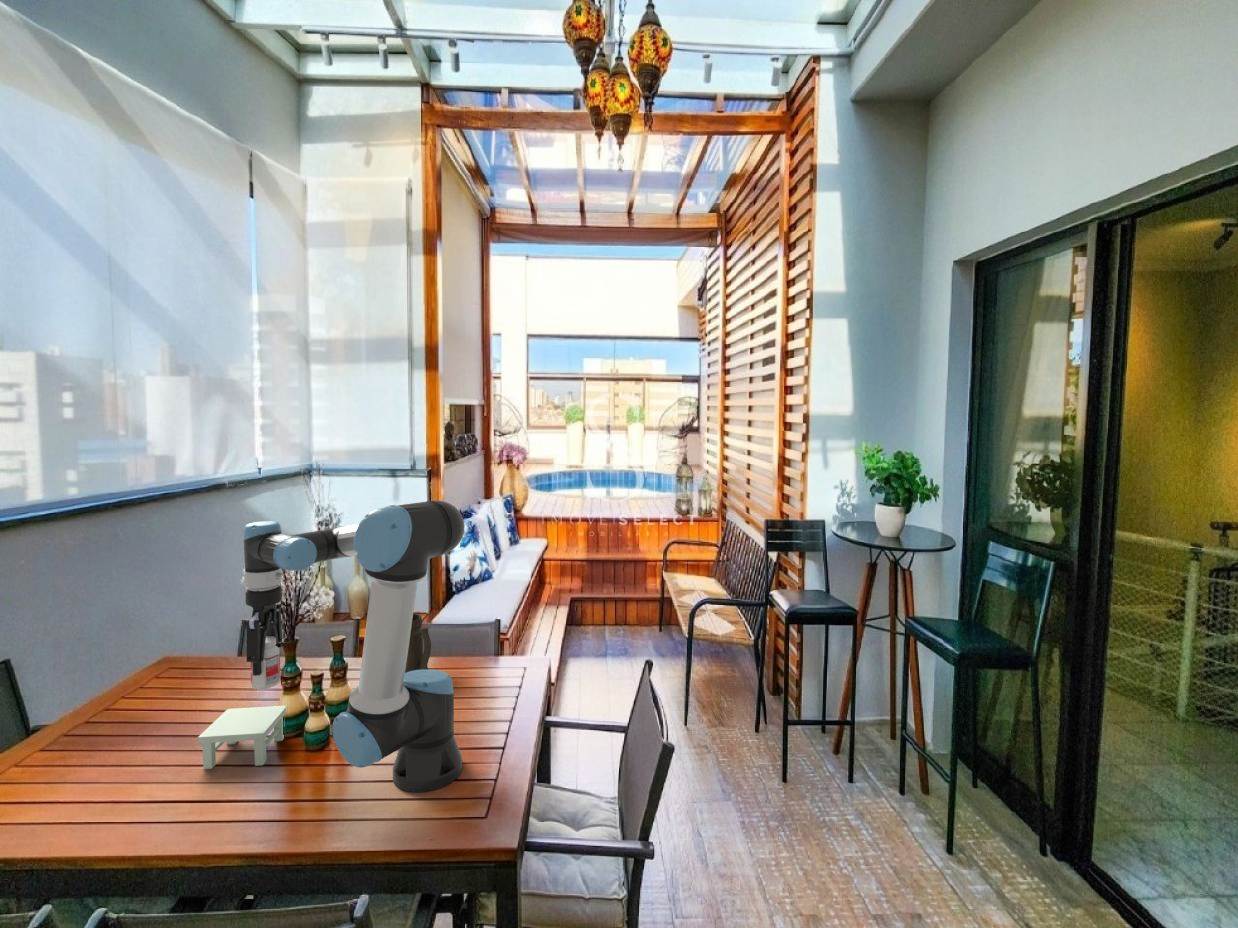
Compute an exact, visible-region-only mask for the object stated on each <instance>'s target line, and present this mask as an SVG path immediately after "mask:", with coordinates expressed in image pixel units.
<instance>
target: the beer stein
mask: <svg viewBox="0 0 1238 928" xmlns="http://www.w3.org/2000/svg"><path fill="white" fill-rule="evenodd" d="M431 653H432V641H431V637H430V633H429V627H428V626H423V619H422V616H421V615H419V614H418V613H413V618H412V625H411V632H410V640H409V647H408V654H407V662H406V669H405V673H407V672H410V671H414V670H426V669H427V670H430V669H429V668H428V665H429V664H428V663H429V661H430V656H431Z"/></svg>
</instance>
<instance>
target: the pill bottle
mask: <svg viewBox="0 0 1238 928" xmlns="http://www.w3.org/2000/svg"><path fill="white" fill-rule="evenodd" d="M275 645H276V638H275V637H271V636H267V637H266V641H265V649H264V658H263V659H266V687H265V688H254V689H255V690H268V689H271V688H274V687H275V686H277V685H278V684H280V682H281V650H280V647H277V646H275ZM250 685H251V687H252V662H250Z"/></svg>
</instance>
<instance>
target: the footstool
mask: <svg viewBox="0 0 1238 928" xmlns="http://www.w3.org/2000/svg"><path fill="white" fill-rule="evenodd" d="M286 707H287V708H288V705H275V706H274V705H272V706H270V705H269V706H258V707H257V706H256V707H255V706H254V707H240V708H239V707H238V708H237V707H235V708H227V709H226V710H225V711H224V712H222V713H221V715H220V716H219V717H217V719H215V720H214V721H213V722H212V723H211V724H210V725H209V726H207V728H206V729H204V730H203V732H202V733H200V735H198V736H197V744H199V745H200V744H202V760H203V761H202V763H203V765H202V766H203V770H212V769H214V767H215V766H217V759H216V758H217V757H216V752H217V751H218V749H220V748H221V746H222V745H223V744H225V743H226V745H236V743H237V742H244V741H253V752H254V754H253V755H254V766H255V767H257V766H263V765H265V763H266V762H267V747H268V746H269V745H270V744H271V743H272V741H274V742H282V741H283V740H284V739H285V738H284V735H283V716H284V717H285V715H286V714H287V712H286ZM270 733H271V734H270ZM269 734H270V735H269ZM268 735H269V736H268ZM267 736H268V737H267ZM266 737H267V738H266Z"/></svg>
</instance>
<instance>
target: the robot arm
mask: <svg viewBox="0 0 1238 928" xmlns="http://www.w3.org/2000/svg"><path fill="white" fill-rule="evenodd" d="M281 528H282V527H281V525H280V523H279V522H278V521H274V520H273V521H271V520H264V521H263V520H262V521H253V522H250V523H248V524H246V525H245V526H244V531H243V532H244V533H243V534H244V535H243V536H244V537H243V550H244V551H243V553H244V554H243V555H244V558H243V559H244V587H245V588H246V590H245V591H244V592H245V594H244V595H245V604H246V606H248V607H251V608H252V613H251V618H250V619H247V620H246V621H245V626H246V627H245V628H246V654H245V655H246V656H245V657H246V663H251V662H252V686H251V688H252V689H255V688H265V687H266V659H263V658H264V649H265V641H266V637H267V636H271V637H275V638H276V645H275V646H277V647H278V648H283V643H282V641H283V631H282V603H281V601H282V600H283V588H282V585H281V584H282V578H283V576H284V573H283V572H282V570H285V571H289V572H290V571H291V572H292V571H294V572H296V571H297V572H303V571H305V570H306V569H309V567H310V566H313V564H317V563H318V564H319V563H322V562H323V563H324V562H326V561H331V560H337V559H342V558H350V557H356V559H357V561H358V563H359V564H360V565H361V566H362V567H363V568H364V573H365V575H366V576H367V577H368V578H369V579H370V580H371V583H370V584H371V585H370V593H369V598H368V599H369V600H368V607H367V615H366V625H365V632H364V640H363V648H362V657H361V664H360V665H361V666H360V673H359V682H358V685H357V686H356V687H354V688H353V689H352V690H351V692H350V694H349V696H348V703H347V704H348V705H347V710H346V711H341V712H340V713H339V714H338V715H337V716H336V717H335V718H334V720H333V723H332V726H331V727H332V736H333V740H334V741H333V742H334V744H335V746H336V748H337V750H338V752H339V754H340V756H341V757H342V758H343V759H344V760H345V761H346V762H347V763H348V764H350V765H351V766H353V767H356V768H358V769H359V768H366V767H369V766H371V765H373V764H375V763H379V762H380V761H382V760H383V759H384V758H386V757H388V756H389V755H391V754H393V753H394V752H395V753H396V751H397V755H396V757H395V760H394V764H393V767H392V782H393V783H394V785H395V786H396V787H397V788H399V789H401V790H403V791H406V792H413V793H421V792H422V793H423V792H429V791H434V790H437V789H441V788H444V787H446V786H447V785H450V784H451V783H453V782H454V781H455V780H457V778H459V776H460V775H461V773H462V771H463V756H462V755H461V754H462V753H461V751H460V748H459V746H458V743H457V741H456V738H455V721H454V720H455V717H454V716H455V711H454V710H455V709H454V707H455V706H454V705H455V702H454V701H455V699H454V698H455V690H454V683H453V682H454V680H453V678H452V676H451V675H450V673H447V672H445V671H442V670H438V669H429V670H427V669H426V670H414V671H410V672H407V673H405V669H406V662H407V654H408V647H409V640H410V632H411V625H412V618H413V614H414V610H415V609H414V608H415V603H416V596H417V595H416V594H417V588H418V587H417V586H418V582H420V581H422V580H423V579H424V578H426V577H427V574H428V573H427V572H428V567H429V565H428V564H429V560H431V559H433V558H437V557H440V556H441V557H442V556H443V555H446V554H448V553H450V552H451V551H453V550H454V549H455V548H456V547H458V546H459V544H460V543H461V541H462V539H463V536H464V533H465V521H464V518H463V514H462V513H461V512H460V511H459V509H457V507H456V506H455V505H453V504H451V503H450V502H446V501H443V500H427V501H420V502H413V503H405V504H398V505H396V504H393V505H388V506H384V507H380V508H377V509H374V510H371V511H370V512H368V513H367V514H366V515H365V516H363V518H362V519H361V520H360V521H359V523H355V524H350V525H349V524H348V525H343V526H339V527H333V528H327V529H322V530H315V531H314V530H312V531H309V532H303V533H296V534H284V533H282V529H281Z"/></svg>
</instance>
